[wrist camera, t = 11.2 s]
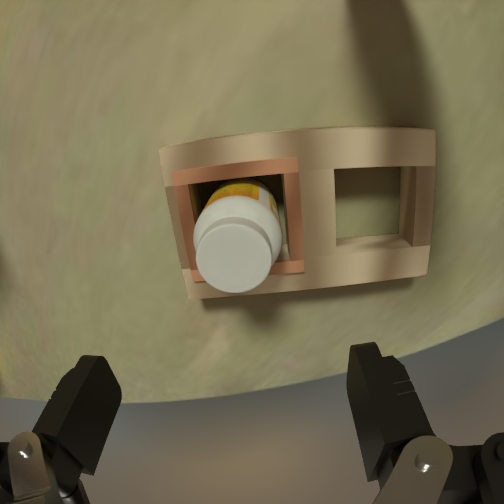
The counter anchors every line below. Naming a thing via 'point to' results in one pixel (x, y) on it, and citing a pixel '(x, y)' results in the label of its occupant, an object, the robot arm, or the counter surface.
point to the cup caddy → (310, 202)
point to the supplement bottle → (238, 236)
